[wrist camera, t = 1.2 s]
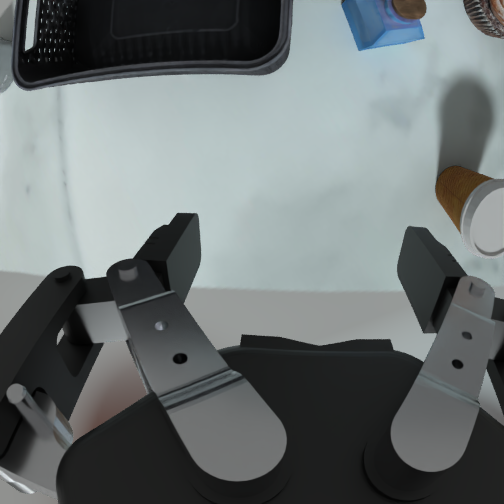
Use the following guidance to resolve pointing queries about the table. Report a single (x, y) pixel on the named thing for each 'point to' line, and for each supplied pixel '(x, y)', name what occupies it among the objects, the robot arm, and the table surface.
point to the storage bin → (148, 39)
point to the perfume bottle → (384, 21)
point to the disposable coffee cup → (474, 209)
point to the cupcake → (487, 16)
